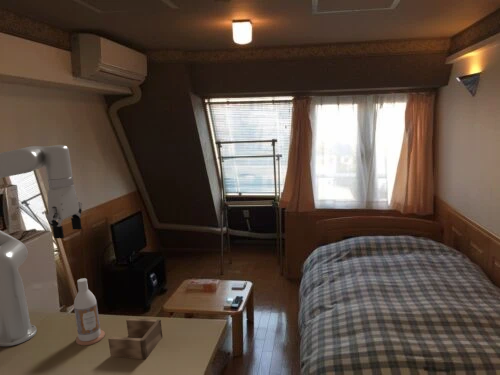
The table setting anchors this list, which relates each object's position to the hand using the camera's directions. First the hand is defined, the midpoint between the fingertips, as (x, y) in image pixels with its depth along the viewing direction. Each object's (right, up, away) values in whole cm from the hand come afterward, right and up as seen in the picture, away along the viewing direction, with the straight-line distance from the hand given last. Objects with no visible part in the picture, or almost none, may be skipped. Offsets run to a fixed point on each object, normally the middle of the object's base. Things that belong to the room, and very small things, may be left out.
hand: (68, 233), depth 139 cm
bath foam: (+7, -34, -1) cm, 35 cm away
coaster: (+8, -35, -1) cm, 36 cm away
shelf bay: (+25, -35, -7) cm, 43 cm away
